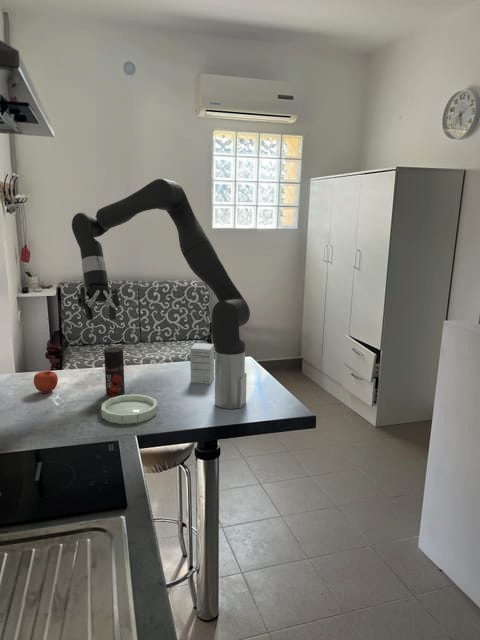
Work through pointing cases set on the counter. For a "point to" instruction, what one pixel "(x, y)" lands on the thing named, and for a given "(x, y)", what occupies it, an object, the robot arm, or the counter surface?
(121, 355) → the deodorant
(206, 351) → the supplement box
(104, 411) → the round tray
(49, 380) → the apple
